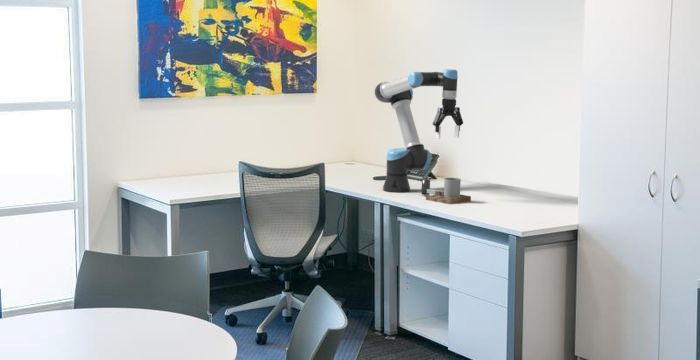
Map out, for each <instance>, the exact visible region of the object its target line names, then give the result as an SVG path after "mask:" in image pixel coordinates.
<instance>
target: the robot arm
mask: <svg viewBox="0 0 700 360" xmlns="http://www.w3.org/2000/svg"><path fill="white" fill-rule="evenodd" d="M458 78H459V76H458V70H457V69H452V68H451V69H450V68H449V69H447V68H446V69H443V72H439V71H432V72H431V71H427V72H426V71H425V72H424V71H421V72H420V71H412V72H410V73H409V74H408V75H407V76H404V77H400V78H398V79H395V80H392V81H383V82H380V83H379V84H377V85H376V86H375V88H374V95H375V96H374V97H375V98H376V99H377V100H378V101H379V102H382V103H386V104H387V103H390V106H391V109H393V110H395V113H396V119H397V121H398V124H399V128H400V132H401V135H402V138H403V143H404V147H397V148H391V149H389V150H388V151H387V153H386V177H385V180H384V183H383V185H382V191H385V192H390V193H407V192H410V191H411V186H410V182H409V178H408V172H414V171H415V172H416V171H420V172H421V171H425V170H427V169H428V168H429V167H430V165H431V161H432V154H431V152H430V151H429V150H428V149H426V148H425V146H424V144H423V143H421V141H420V138H419V135H418V131H417V127H416V123H415V120H414V116H413V113H412V109H411V104H412V100H413V99H414V97H413V95H414V92H413V89H416V88H420V87H442V93H441V94H442V96H441V97H442V99H441V106H442V107H437V112H436V115H434V119H433V122H432V125H433V126H434V128H435V130H434V131H435V139H441V130H442V127H441V124H442V123H443V121H444V120H445V118H447V117H451V118H452V119H453V121H454V123H455V125H454V138H457V139H459V137H460V131H461V126H462V125H463V124H464V121H463V118H462V115H461V109H460V107H458V106H457V99H456V98H457V94H458Z"/></svg>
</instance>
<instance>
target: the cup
mask: <svg viewBox="0 0 700 360" xmlns="http://www.w3.org/2000/svg"><path fill="white" fill-rule="evenodd" d="M461 180H462V179H461V178H457V177H456V178H455V177H445V178H444V180H443V181H444V183H443V185H444V187H443V191H444V197H449V198H457V197H460V194H461V182H462V181H461Z"/></svg>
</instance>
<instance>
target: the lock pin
mask: <svg viewBox="0 0 700 360" xmlns="http://www.w3.org/2000/svg"><path fill="white" fill-rule="evenodd" d="M435 191H439V192H440V194H442V196H444V190H443V191H441V190H438V189H433V188H431V179H429V178H422V179H421V195H423V196H425V195H426V196H428V195H429V196H431V195H435Z"/></svg>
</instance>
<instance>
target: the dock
mask: <svg viewBox="0 0 700 360" xmlns="http://www.w3.org/2000/svg"><path fill="white" fill-rule="evenodd" d="M440 191H444V189H443V190H440ZM425 200H427V201H431V202H436V203H442V204H448V205H453V204H459V203H467V202H468V203H469V202H471V200H472V197H471V195H465V194H461V193H460V197H457V198H449V197H444V196H442V194H440V192H439V191H435V194H432V195H429V196H428V195H427V196H426V197H425Z"/></svg>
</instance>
